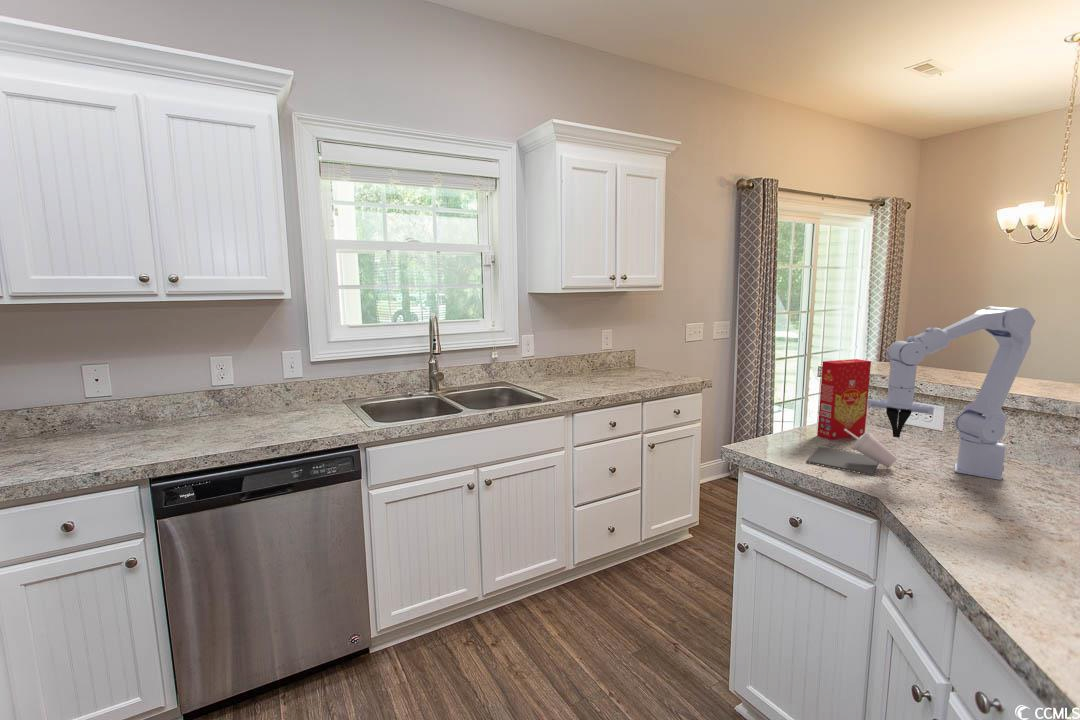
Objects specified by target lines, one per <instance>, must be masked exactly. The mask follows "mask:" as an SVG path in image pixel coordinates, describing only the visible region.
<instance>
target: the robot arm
mask: <svg viewBox="0 0 1080 720" xmlns="http://www.w3.org/2000/svg"><path fill="white" fill-rule="evenodd" d="M1035 323H1036V319H1035V318H1034V317H1033V315H1032V313H1031V312H1030V311H1029V310H1028V309H1027V308H1025V307H1007V306H1006V307H1004V306H1002V307H1001V306H996V305H994V306H993V305H989V306H986V307H984V308H983V309H982V308H981V309H978V310H976V311H975V312H974V313H972V314H971V315H969V316H967V317H965V318H963V319H960V320H959V321H957V322H954V323H953V324H950V325H948V326H947V327H944V328H942V329H941V328H939V327H927V328H925V329H924V332H921V333H919V334H917V335H914V336H911V335H910V336H908V337H906V338H907V339H906V340H905V341H904V340H897V341H895V342H892V343H891V345H890V346H889V347H888V349H887V350H886V352H885V355H886V357H887V358H888V360H889V375H888V383H887V384H888V385H887V386H888V387H887V397H886V399H874V398H868V400H867V408H879V409H886V411H885V413H886V415H887V418H888V421H889V423H890V425H891V430H892V437H893V438H897V439H900V437H901V433H902V430H903V427H904V426H905V424H906V422H907V421H908V419H909V417H910V416H911V415H912V413H920V414H927V415H930V416H933V415H934V411H935V406H934V405H928V404H927V405H926V404H922V403H916V402H915V403H914V397H915V387H916V377H917V370H918V369H917V368H918V364H920V363H921V362H922V361H923V359H924V357H926V356H927V357H928V356H930V355H932V354H934V353H936V352H939V351H941V350H944V349H945V348H947V347H948V346H949V345H950V342H951V341H953V340H955V339H958V338H961V337H963V336H967V335H969V334H971V333H974V332H978V331H979V330H983V331H986V332H987V333H988V334H989V335H991V336H992V337H994V339H995V341H997V344H998V345H999V346H998V349H997V350H996V353H995V354H994V358H993V359H992V361H991V364H990V367H989V369H988V371H987V373H986V375H985V378H984V380H983V382H982V385H981V387H980V389H979V392H978V394H977V396H976V398H975V400H974V401H972V402H970V403H968V404H966V405H965V406H964V408H963V410H962V411H961V412H960V413H958V415H957V416H956V417H955V419H954V426H955V429H956V430H957V431H958V436H959V444H958V452H957V460H956V462H955V463H954V473H957V474H958V473H959V474H964V475H969V476H977V477H982V478H988V479H992V480H998V481H1001V480H1002V479H1003V478H1002V477H1003V472H1004V471H1005V464H1004V463H1005V462H1004V461H1005V456H1006V455H1005V454H1006V444H1005V443H1002V442H1000V440H1002V438H1003V437H1004V435H1005V433H1006V427H1005V426H1006V422H1007V420H1008V417H1007V415H1006V414H1005V413H1004V410H1003V409H1002V408H1003V406H1004V404H1005V402H1006V399H1007V396H1008V395H1009V392H1010V391H1011V388H1012V386H1013V384H1014V382H1015V379H1016V377H1017V375H1018V373H1019V370H1020V369H1021V366H1022V363H1023V362H1024V359H1025V357H1026V355H1027V353H1028V351H1029V348H1030V346H1031V341H1032V340H1031V339H1032V336H1031V335H1032V333H1031V332H1032V331H1033V327H1034V325H1035Z"/></svg>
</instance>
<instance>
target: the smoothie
mask: <svg viewBox="0 0 1080 720" xmlns="http://www.w3.org/2000/svg"><path fill="white" fill-rule="evenodd" d="M844 431H846V432H847V433H849V434H850V435H852V436H853V437H852V438H854V439H856V441H855V443H854V444H853V445H852V446H851V449H852V450H853V451H857V452H859V454H863V455H866V456H867V457H869V458H871V459H873V460H875V461H876V462H878V463H879V464H880V465H882V466H884V467H885V468H887V469H889V468H890V467H892V465H893V464H895V462H896V461H897V460H898V456H896V455H895V454H894V453H892V451H891V450H889V449H888V448H887V447H886V446H884V445H883V443H881V442H880V441H879V440H877V439H876V437H874V436H873V435H871V432H869V431H867V430H865V433H864V434H863V435H861V436H855V435H854V434H852V433H851V432H849V431H848V430H847V429H844Z"/></svg>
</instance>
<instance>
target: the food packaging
mask: <svg viewBox="0 0 1080 720" xmlns="http://www.w3.org/2000/svg"><path fill="white" fill-rule="evenodd" d="M871 364H872V361H870V360H867V359H865V360H864V359H860V358H855V359H853V358H852V359H838V360H823V361H822V366H821V380H820V381H821V382H820V390H819V391H820V393H819V406H818V407H819V408H818V418H817V419H818V422H817V433H816V434H817V437H821V438H824V439H827V440H829V441H833V440H840V439H841V440H842V439H847V438H854V437H853V436H852V435H850V434H849V433H847V432H846V431H844V429H847V430H848V431H849V432H851V433H852V434H854V435H855V436H857V437H861V435H863V434H864V433H865V432H866V421H867V412H868V411H867V410H868V407H867V400H868V399H869V390H870V389H869V388H870V377H871V367H872V365H871Z"/></svg>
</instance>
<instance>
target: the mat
mask: <svg viewBox="0 0 1080 720" xmlns="http://www.w3.org/2000/svg"><path fill="white" fill-rule="evenodd" d="M806 462H810V463H814V464H813V465H816V464H819V465H818V466H821V465H824V466H823V467H826V466H830V467H829V468H831V467H835V468H834V469H836V468H840V469H839V470H841V469H845V470H844V471H846V470H850V471H849V472H852V471H855V472H854V473H857V472H860V473H859V474H862V473H865V474H864V475H867V474H869V475H868V476H872V475H874V474H875V471H876V470H877V468H878V466H879V464H880V463H878V462H876V461H875V460H873V459H871V458H869V457H867V456H866V455H864V454H862V453H855V452H852V451H851V452H850V451H844V450H838V449H832V448H829V447H822V446H821V447H820V446H818V448H816V450H814V452H813V453H812V454H811V455H810V456H809V457H808V458H807V459H806V461H805V463H806ZM810 463H809V464H810Z"/></svg>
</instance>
